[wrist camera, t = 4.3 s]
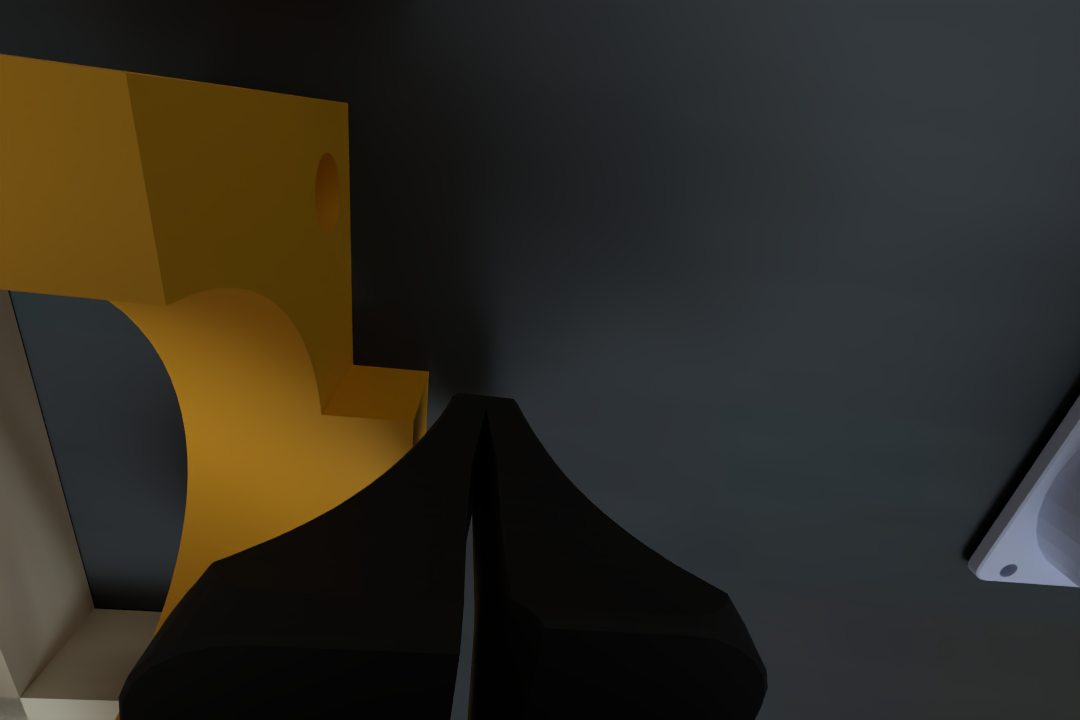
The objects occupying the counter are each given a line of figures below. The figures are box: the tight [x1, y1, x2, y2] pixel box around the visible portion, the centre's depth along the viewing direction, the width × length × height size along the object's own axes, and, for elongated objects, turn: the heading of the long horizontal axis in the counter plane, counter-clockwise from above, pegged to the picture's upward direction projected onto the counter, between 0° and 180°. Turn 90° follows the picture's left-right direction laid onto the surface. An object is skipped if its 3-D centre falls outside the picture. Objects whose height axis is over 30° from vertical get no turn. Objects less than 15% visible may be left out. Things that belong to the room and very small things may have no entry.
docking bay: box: [0, 289, 162, 720], centre depth 11 cm, size 10×20×2 cm, turn 171°
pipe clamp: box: [0, 54, 429, 720], centre depth 9 cm, size 12×4×6 cm, turn 173°
